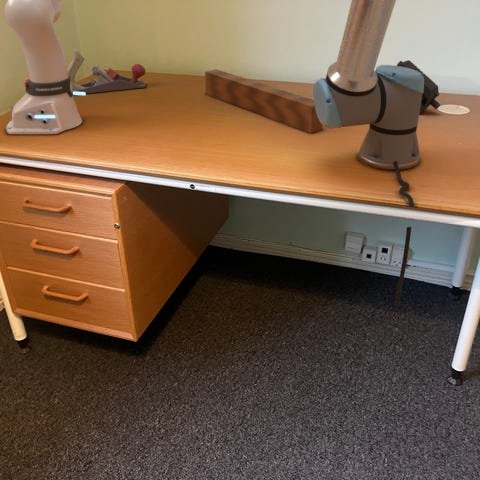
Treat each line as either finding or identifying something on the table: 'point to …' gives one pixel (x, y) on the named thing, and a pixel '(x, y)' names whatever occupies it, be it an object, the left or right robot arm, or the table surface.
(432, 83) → the tool
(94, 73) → the hand plane
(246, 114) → the table surface
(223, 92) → the bar
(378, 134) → the right robot arm
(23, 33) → the left robot arm
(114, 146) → the table surface
